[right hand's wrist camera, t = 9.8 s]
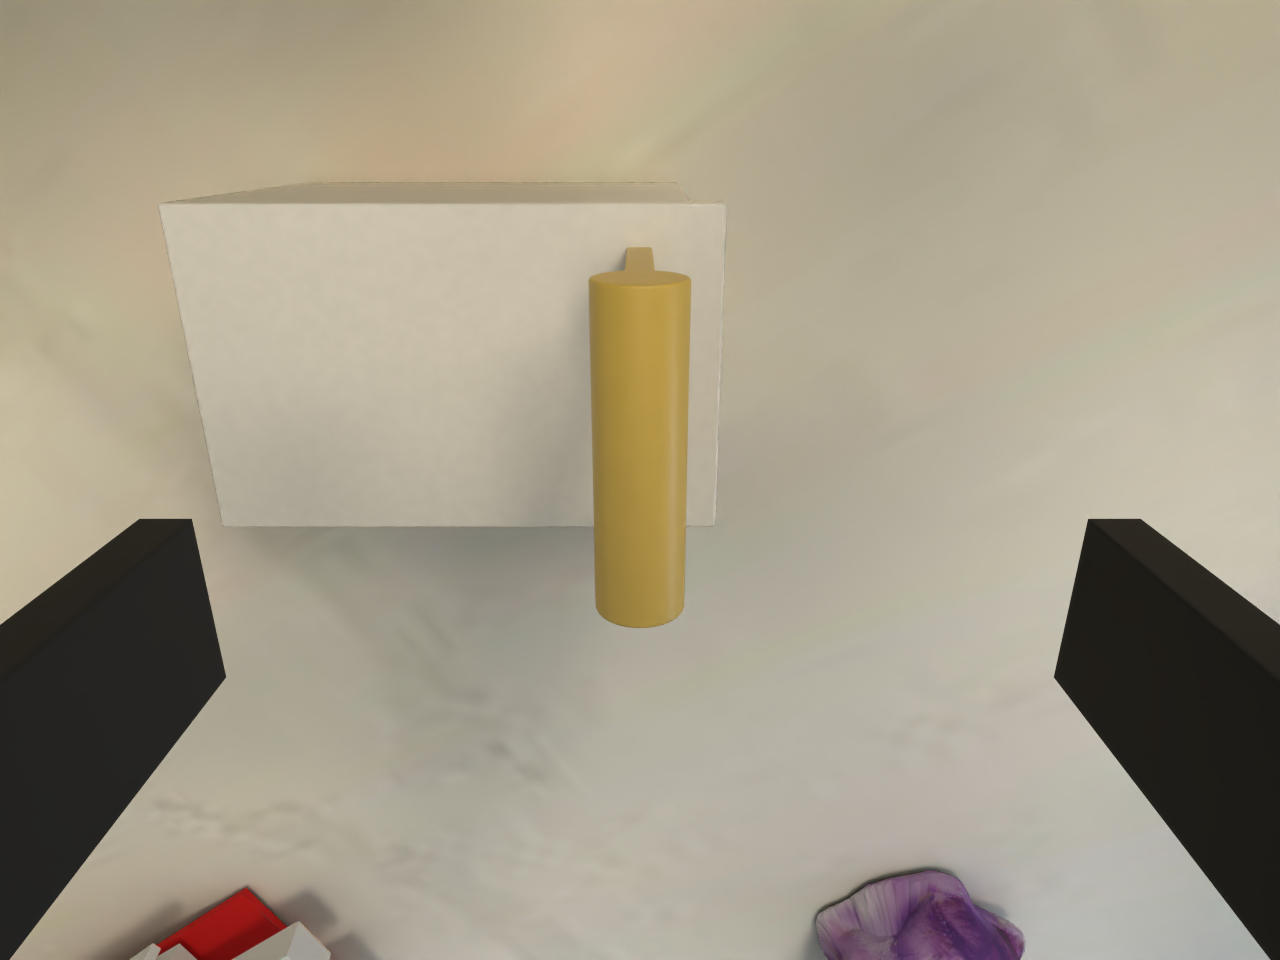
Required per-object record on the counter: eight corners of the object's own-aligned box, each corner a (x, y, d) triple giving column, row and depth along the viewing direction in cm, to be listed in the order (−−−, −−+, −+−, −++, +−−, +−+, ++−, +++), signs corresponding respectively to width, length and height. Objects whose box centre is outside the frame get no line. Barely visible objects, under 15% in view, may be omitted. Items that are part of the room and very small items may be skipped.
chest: (676, 182, 33) (692, 200, 24) (673, 418, 37) (685, 516, 27) (306, 182, 33) (172, 200, 24) (338, 418, 37) (234, 516, 27)
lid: (724, 201, 23) (766, 231, 16) (713, 516, 27) (742, 666, 19) (171, 201, 23) (-55, 232, 16) (233, 517, 27) (73, 667, 19)
